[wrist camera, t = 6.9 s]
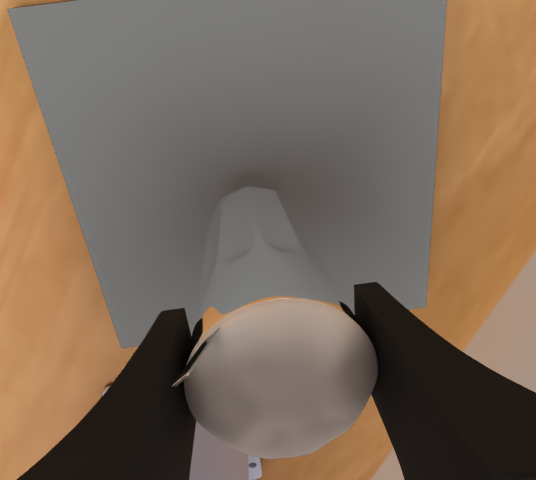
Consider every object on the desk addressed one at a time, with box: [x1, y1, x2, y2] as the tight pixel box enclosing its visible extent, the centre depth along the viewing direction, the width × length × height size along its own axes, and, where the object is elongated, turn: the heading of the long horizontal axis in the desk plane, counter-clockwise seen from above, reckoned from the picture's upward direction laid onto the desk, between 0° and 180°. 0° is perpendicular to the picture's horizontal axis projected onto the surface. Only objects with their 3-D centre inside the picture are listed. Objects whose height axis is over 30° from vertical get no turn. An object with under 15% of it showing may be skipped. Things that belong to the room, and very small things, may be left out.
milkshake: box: [172, 186, 378, 459], centre depth 14 cm, size 4×5×10 cm
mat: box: [7, 0, 447, 348], centre depth 22 cm, size 16×16×1 cm
